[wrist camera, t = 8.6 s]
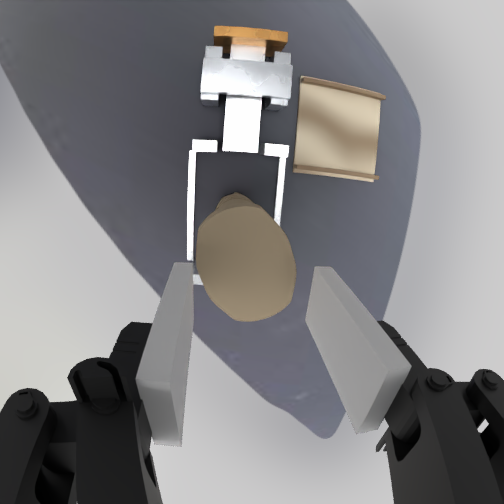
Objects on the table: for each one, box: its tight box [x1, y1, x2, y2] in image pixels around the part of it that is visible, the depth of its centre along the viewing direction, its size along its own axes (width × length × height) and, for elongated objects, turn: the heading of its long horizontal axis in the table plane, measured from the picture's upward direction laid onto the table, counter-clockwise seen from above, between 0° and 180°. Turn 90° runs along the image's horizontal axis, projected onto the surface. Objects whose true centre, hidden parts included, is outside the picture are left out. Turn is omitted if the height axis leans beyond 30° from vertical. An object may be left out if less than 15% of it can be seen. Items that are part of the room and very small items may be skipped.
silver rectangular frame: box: [187, 140, 289, 285], centre depth 27 cm, size 13×9×4 cm
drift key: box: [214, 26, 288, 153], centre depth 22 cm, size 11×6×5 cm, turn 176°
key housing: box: [200, 46, 293, 111], centre depth 22 cm, size 5×7×5 cm
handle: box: [196, 192, 296, 322], centre depth 22 cm, size 5×6×15 cm
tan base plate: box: [293, 76, 386, 182], centre depth 26 cm, size 10×9×2 cm
